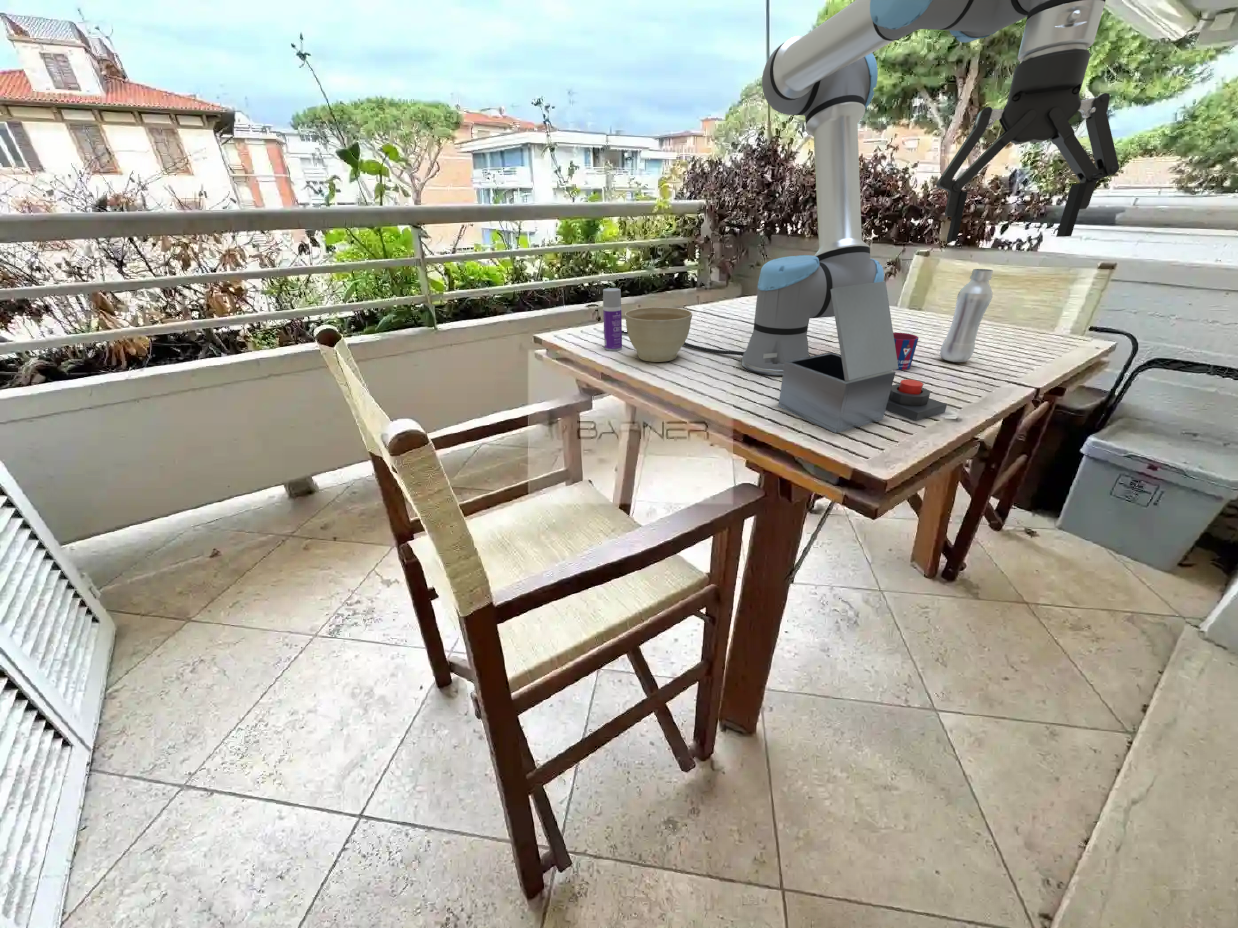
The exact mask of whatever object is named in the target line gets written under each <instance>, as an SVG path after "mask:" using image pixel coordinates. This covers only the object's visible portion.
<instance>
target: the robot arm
mask: <svg viewBox="0 0 1238 928" xmlns="http://www.w3.org/2000/svg"><path fill="white" fill-rule="evenodd" d="M1105 4H1106V0H854V1H852V2H851V3H849V4H848V5H846V6H845V7H844V8H842V9H841V10H839V11H838V12H836V13H835V14H834V15H832V16H831V17H829V18H828V19H827V20H825V21H823V22H822V23H820V24H819V25H818V26H816V27H815V28H813V29H812V30H810V31H809V32H807V33H806V34H804V35H794V36H792V37H790V38H788V39H787V40H785V41H784V42H783V43H781V44H780V45H778V47H776V48H775V49H774V50H773V52H772V53H771V54H770V55H769V57H768V59H767V60H766V63H765V65H764V68H763V71H762V77H761V88H762V94H763V96H764V99H765V100H766V102H767V104H768V105H769V106H770V107H771V108H772V109H773V110H774V111H775V112H778V113H779V114H783V115H786V116H803V117H804V121H805V131H806V133H807V134H808V135H810V136H812V137H813V148H814V149H813V151H814V167H815V168H814V170H815V171H814V173H815V194H816V215H817V236H818V250H817V251H816V253H815V254H814V255H812V254H811V255H810V254H809V255H808V254H801V255H789V256H783V257H777V258H774V259H771V260H769V261H767V262H766V263H763V265H762V267H761V269H760V271H759V277H758V282H757V294H756V303H755V304H756V305H755V312H754V319H753V320H754V322H753V330H752V334H751V336H750V338H749V340H748V344H747V346H746V349H745V351H739V350H727V349H726V350H723V349H715V348H709V347H706V346H705V347H704V346H700V345H696V344H693V343H688V342H686V341H685V343H684V344H683V346H684V347H687V348H690V349H693V350H698V351H701V352H707V353H713V354H717V355H719V354H721V355H733V356H741V357H742V358H741V366H742V367H743V368H745V370H748V371H750V372H752V373H756V374H760V375H766V376H776V377H778V376H779V377H783V371H784V364H785V361H790V360H795V359H800V358H805V357H810V356H811V355H810V354H809V353H810V351H809V349H810V348H809V340H808V329H809V323H810V319H822V318H835V315H834V309H833V303H832V296H831V289H833V288H838V287H846V286H853V285H861V284H869V283H876V282H884V280H885V272H884V268H883V265H882V264H880V261H878V260H877V259H874V258H871V246H870V245H869V244H867V243H866V242H864V240H863V237H862V235H863V234H862V208H861V182H860V181H861V180H860V154H859V153H860V152H859V151H860V150H859V125H858V123H859V122H860V121H861V119H862V118H863V117H864V116H865V114H866V109H867V108H868V106H869V105H870V104H871V102H872V100H873V98H874V95H875V91H874V89H875V88H876V87H877V84H878V75H879V73H878V63H877V60H876V56H875V55H874V52H876V51H878V50H880V49H882V48H884V47H886V46H888V45H889V44H892V43H893V42H895V41H898V40H899V39H902V38H904V37H906V36H908V35H909V34H912V33H913V32H915V31H916V32H917V31H919V30H930V31H931V30H933V31H934V30H935V31H949V33H950V34H951V36H953V37H954V38H955V39H956V41H958V42H960V43H972V42H974V41H977V40H981V39H984V38H988V37H990V36H991V35H994V34H996V33H997V32H999V31H1001V30H1003V29H1005V28H1007V27H1009V26H1011V25H1013V24H1016V23H1017V22H1019V21H1022V20H1024V19H1026V20H1025V21H1026V22H1025V25H1024V29H1023V33H1022V38H1021V41H1020V46H1019V50H1018V53H1017V58H1016V59H1017V60H1018V61H1019V62H1020V63H1018V65H1017V66H1016V67H1015V68H1014V71H1013V76H1012V80H1011V84H1010V87H1009V92H1008V96H1007V101H1006V104H1005V106H1004V107H1003V108H1002V109H1001V108H999V109H997V108H995V109H993V108H992V107H991V106H986V107H984V108H983V109H982V110H980V111H979V112H978V113H977V114H976V117H975V119H974V122H973V126H972V129H971V131H970V132H969V134H968V135H967V137H966V139H965V140H964V142H963V143H962V144H961V146H960V147H959V149H958V151H957V152H956V154H955V155H954V156H953V158H952V159H951V160H950V162H949V163H948V165H947V166H946V168H945V170H944V171H943V173H942V174H941V176H940V177H939V179H938V180H937V182H936V184H935V186H936V188H937V189H940V190H944V191H946V192H947V193H948V196H947V200H946V204H945V205H946V206H945V210H944V216H945V218H949V217H951V219H950V224H949V229H948V233H947V238H946V242H957V241H958V239H959V238H958V237H959V232H960V228H961V224H962V219H963V215H964V210H965V207H966V201H967V197H968V192H969V191H968V190H963V188H964V187H965V186H967V184H969V182H970V181H971V180H972V179H974V177H976V175H978V174H979V173H980V172H981V170H983V168H985V166H987V165H988V163H990V162H991V161H992V160H993V159H994V158H995V157H996V156H997V155H998V154H999V153H1000V152H1001V151H1002V150H1003V149H1004V148H1006V147H1007V145H1009V144H1010V143H1012V144H1014V146H1017V145H1023V144H1026V143H1034V144H1037V143H1038V144H1039V143H1043V142H1046V141H1048V140H1049V141H1050V142H1051V143H1052V144H1053V145H1054V146H1055V147H1056V148H1057V149H1058V151H1059V152H1060V154H1061V156H1062V157H1063V158H1064V160H1065V161H1066V163H1067V165H1068V166H1069V168H1070V169H1071V170H1072V172H1073V174H1074V175H1075V176H1076V177H1077V179H1078V181H1079V183H1074V184H1071V185H1070V188H1069V192H1068V196H1067V199H1066V201H1065V206H1064V209H1063V212H1062V215H1061V219H1060V222H1059V225H1058V229H1057V232H1056V235H1055V236H1056V238H1066V237H1072V234H1073V232H1074V229H1075V225H1076V222H1077V219H1078V215H1079V213H1080V210H1086V209H1087V208H1088V207H1089V205H1090V203H1091V199H1092V196H1093V193H1094V190H1095V187H1096V184H1097V183H1098V181H1100V180H1102V179H1104V178H1107V177H1110V176H1113V175H1115V174H1117V173H1118V172H1119V170H1120V164H1119V160H1118V156H1117V151H1116V148H1115V147H1116V146H1115V142H1114V138H1113V133H1112V129H1111V125H1110V121H1109V117H1108V108H1109V105H1110V104H1109V103H1110V98H1111V95H1110V93H1108V92H1104V93H1102V94H1099V95H1098V96H1095V97H1091V98H1087V99H1082V100H1081V96H1080V95H1081V94H1080V93H1081V90H1082V86H1083V83H1084V80H1085V76H1086V73H1087V69H1088V66H1089V62H1090V59H1091V55H1092V54H1091V52H1090V50H1088V49H1089V48H1090V47H1091V46H1092V45H1094V43H1095V40H1096V36H1097V33H1098V30H1099V26H1100V23H1101V19H1102V15H1103V11H1104V8H1105ZM1078 112H1079V113H1080V114H1081V118H1082V119H1085V126H1086V127H1085V128H1086V131H1087V136H1088V140H1089V144H1090V147H1091V151H1092V156H1093V161H1094V162H1093V161H1092V158H1090V156H1089V154H1088V153H1087V151H1086V150H1085V148H1084V146H1082V144H1081V142H1080V141H1079V139H1078V137H1077V136H1076V135H1075V130H1074V128H1073V126H1072V125H1071V124H1070V122H1069V121H1070V120H1071V119H1072V118H1073V117H1074V116H1075V115H1076V114H1077V113H1078ZM996 121H999V124H1000V125H1001V128H1002V129H1003V132H1002V133H1001V134H1000V135H999V136H998V137H997V138H996V139H995V140H994V141H993V142H992V143H991V144H990V146H989V147H988V148H986V149H985V150H984V151H983V153H982V154H981V155H980V156H979V157H978V158H977V159H976V160H975V161H974V162H973V163H971V165H970V166H969V167H968V168H967V169H965V170H964V172H963V173H961V174H960V176H958V177H957V179H955V180H954V177H955V175H956V174H957V173H958V171H959V170H960V168H961V167H962V165H963V164H964V162H965V161H966V159H967V158H968V157H969V155H970V154H971V152H972V151H973V149H974V147H975V146H976V145H977V143H978V142H979V140H980V139H981V138H982V136H983V135H984V133H985V132H986V130H988V129H989V128H991V127H992V126H993V125H994V124H995V122H996ZM962 190H963V191H962ZM624 331H625V330H622V335H628V333H627V332H624Z"/></svg>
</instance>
